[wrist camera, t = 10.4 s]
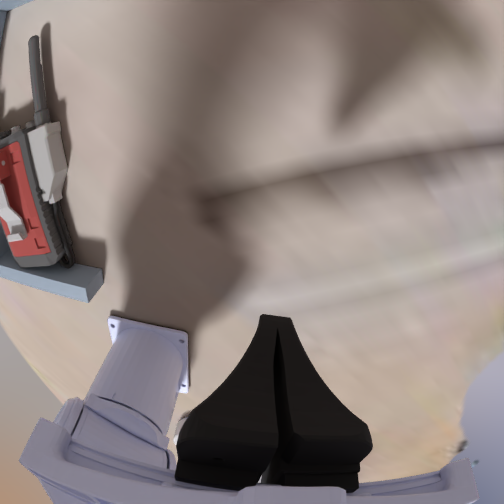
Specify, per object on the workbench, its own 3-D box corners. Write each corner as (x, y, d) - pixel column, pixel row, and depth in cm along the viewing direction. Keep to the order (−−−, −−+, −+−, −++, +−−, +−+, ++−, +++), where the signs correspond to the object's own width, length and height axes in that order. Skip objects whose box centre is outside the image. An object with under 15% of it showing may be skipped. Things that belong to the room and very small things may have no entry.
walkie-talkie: (99, 257, 24) (53, 31, 15) (74, 285, 20) (17, 27, 11) (35, 262, 25) (-10, 72, 16) (10, 286, 21) (-43, 77, 12)
